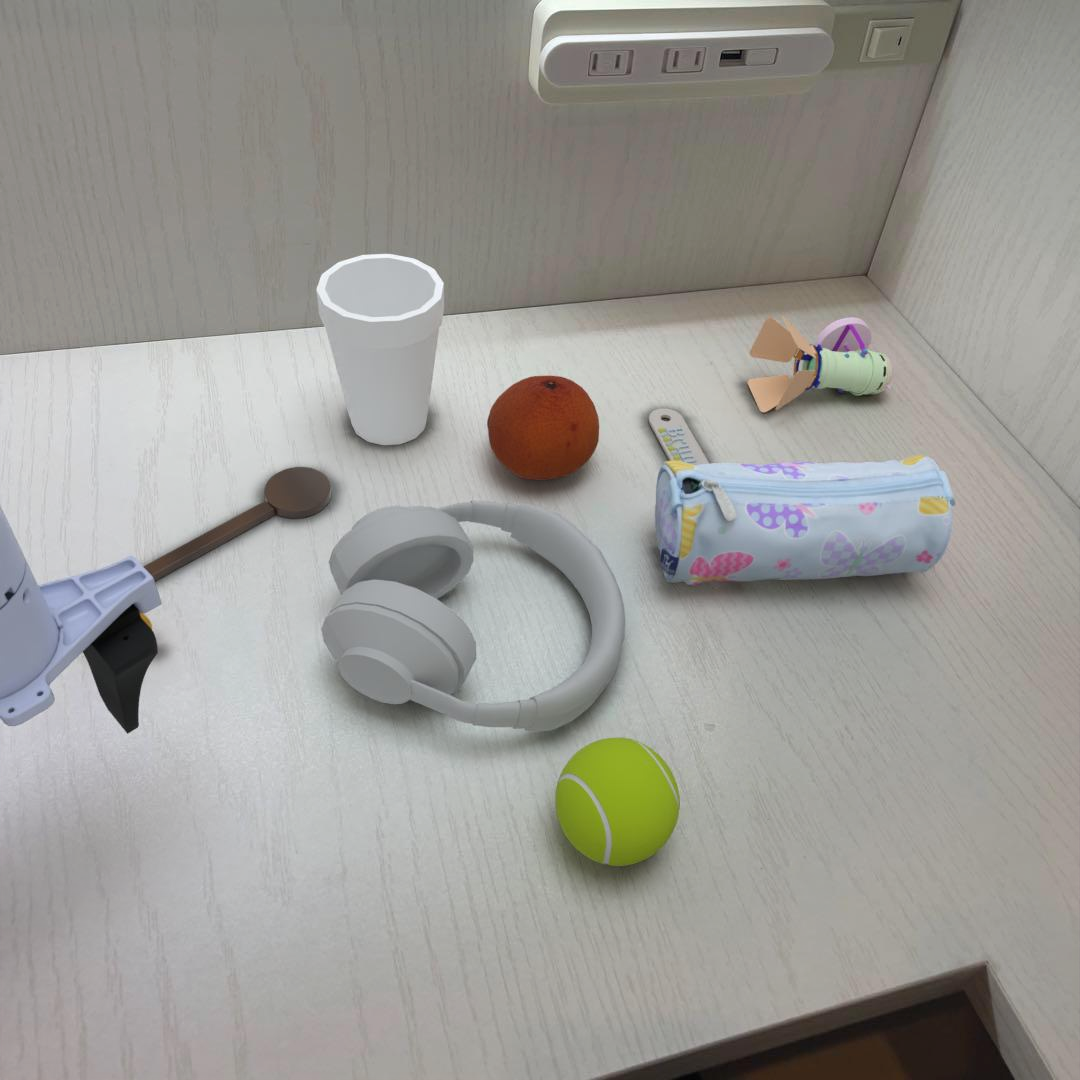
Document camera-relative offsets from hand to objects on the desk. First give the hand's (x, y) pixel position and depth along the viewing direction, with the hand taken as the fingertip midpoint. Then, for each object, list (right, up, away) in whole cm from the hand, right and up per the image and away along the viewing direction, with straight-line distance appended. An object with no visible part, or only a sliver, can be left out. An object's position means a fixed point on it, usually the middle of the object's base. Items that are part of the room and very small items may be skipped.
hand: (51, 762), depth 48 cm
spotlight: (+49, +25, +41) cm, 69 cm away
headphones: (+20, +4, +19) cm, 28 cm away
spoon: (0, +11, +24) cm, 26 cm away
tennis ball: (+28, -6, +10) cm, 31 cm away
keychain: (+36, +19, +34) cm, 53 cm away
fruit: (+24, +17, +32) cm, 44 cm away
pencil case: (+42, +9, +26) cm, 51 cm away
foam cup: (+11, +21, +34) cm, 42 cm away
